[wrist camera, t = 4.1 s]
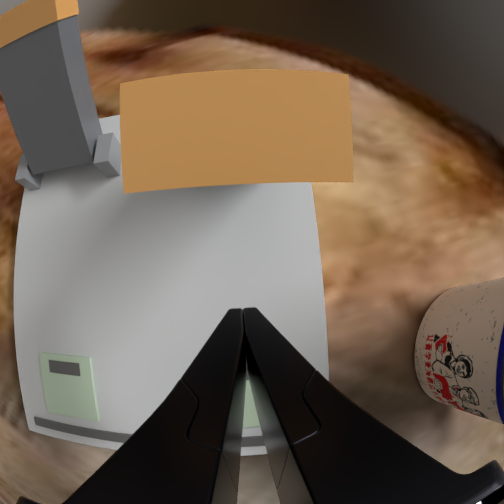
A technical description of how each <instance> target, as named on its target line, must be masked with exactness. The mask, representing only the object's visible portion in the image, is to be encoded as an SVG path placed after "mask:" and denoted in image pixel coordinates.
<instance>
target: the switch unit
mask: <svg viewBox="0 0 504 504" xmlns="http://www.w3.org/2000/svg"><path fill="white" fill-rule="evenodd" d="M99 122H100V126H101V129H102V133H103V134H102V135H98V140H97V145H96V151H95V156H94V162H93V163H87V164H82V165H76V166H71V167H66V168H61V169H57V170H52V171H48V172H43V173H39V174H35V175H33V173H32V171H31V169H30V167H29V164H28V162H27V160H26V158H25V155H24V154H21V157H20V161H19V165H18V169H17V173H16V177H15V181H16V182H18V183H19V184H21V185H22V186H24V187H25V188H24V194H23V199H22V205H21V211H20V218H19V225H18V233H17V243H16V254H15V269H14V331H15V345H16V356H17V365H18V373H19V381H20V387H21V393H22V399H23V404H24V409H25V414H26V419H27V423H28V427H29V430H30V431H34V432H37V433H40V434H44V435H47V436H51V437H55V438H59V439H63V440H67V441H71V442H76V443H80V444H85V445H90V446H95V447H101V448H107V449H113V450H118V449H119V448H120V447H121V446H122V445H123V444H124V443H125V442H126V440H127V439H128V438H129V437H130V436H131V435H132V434H133V433H134V432H135V431H136V430H137V429H138V428H139V427H140V426H141V425H142V424H143V423H144V422H145V421H146V420H147V419H148V418H149V417H150V416H151V414H152V413H153V412H154V411H155V410H156V409H157V408H158V407H159V405H160V404H161V403H162V402H163V401H164V400H165V398H166V397H167V396H168V394H169V393H170V392H171V390H172V389H173V388H174V386H175V385H176V383H177V382H178V381H179V380H180V379H181V377H182V376H183V374H184V373H185V371H186V370H187V368H188V367H189V366H190V364H191V363H192V361H193V360H194V358H195V357H196V356H197V354H198V353H199V351H200V350H201V348H202V347H203V346H204V344H205V343H206V341H207V340H208V338H209V337H210V336H211V334H212V333H213V331H214V330H215V328H216V327H217V325H218V324H219V323H220V321H221V320H222V318H223V317H224V315H225V314H226V312H227V311H228V310H229V309H231V308H242V310H243V308H248V307H256V308H257V309H258V310H259V311H260V312H261V313H262V314H263V315H264V316H265V317H266V318H267V319H268V320H269V321H270V322H271V323H272V324H273V326H274V327H275V328H276V329H277V330H278V331H279V332H280V333H281V334H282V335H283V336H284V337H285V338H286V339H287V340H288V341H289V342H290V343H291V344H292V345H293V346H294V347H295V348H296V349H297V350H298V351H299V352H300V353H301V355H302V356H303V357H304V358H305V359H306V360H307V361H308V362H309V363H310V364H311V365H312V366H313V367H314V368H315V369H316V370H318V371H319V372H320V373H321V374H322V375H323V376H324V377H325V378H326V379H327V380H328V381H329V365H328V345H327V328H326V314H325V301H324V289H323V278H322V268H321V258H320V248H319V239H318V231H317V223H316V215H315V207H314V200H313V192H312V185H311V182H290V183H257V184H235V185H218V186H202V187H189V188H176V189H165V190H154V191H144V192H135V193H126V194H124V190H123V177H122V162H121V141H120V115H116V116H111V117H106V118H101V119H99ZM246 367H247V364H246ZM261 454H267V451H266V447H265V443H264V439H263V435H262V431H261V427H260V423H259V419H258V415H257V411H256V407H255V403H254V399H253V394H252V390H251V386H250V382H249V378H248V372H247V376H246V391H245V404H244V417H243V430H242V443H241V456H246V455H261Z"/></svg>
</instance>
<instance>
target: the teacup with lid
mask: <svg viewBox="0 0 504 504" xmlns="http://www.w3.org/2000/svg"><path fill="white" fill-rule="evenodd" d="M414 357H415V369H416V374H417V377H418V380H419V383H420V385H421V387H422V388H423V390H424V391H425V393H426V394H427V395H428V396H429V397H431V398H432V399H434V400H435V401H438V402H440V403H443V404H446V405H449V406H451V407H454V408H457V409H460V410H462V411H465V412H468V413H471V414H474V415H477V416H480V417H483V418H486V419H489V420H492V421H495V422H498V423H501V424H504V278H499V279H495V280H490V281H485V282H480V283H475V284H469V285H464V286H459V287H454V288H451V289H449V290H447V291H445V292H444V293H442V294H441V295H440V296H439V297H438V298H437V299H436V300H435V301H434V302H433V303H432V304H431V306H430V307H429V309H428V310H427V312H426V314H425V316H424V318H423V320H422V322H421V324H420V327H419V330H418V334H417V338H416V344H415V355H414Z"/></svg>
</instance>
